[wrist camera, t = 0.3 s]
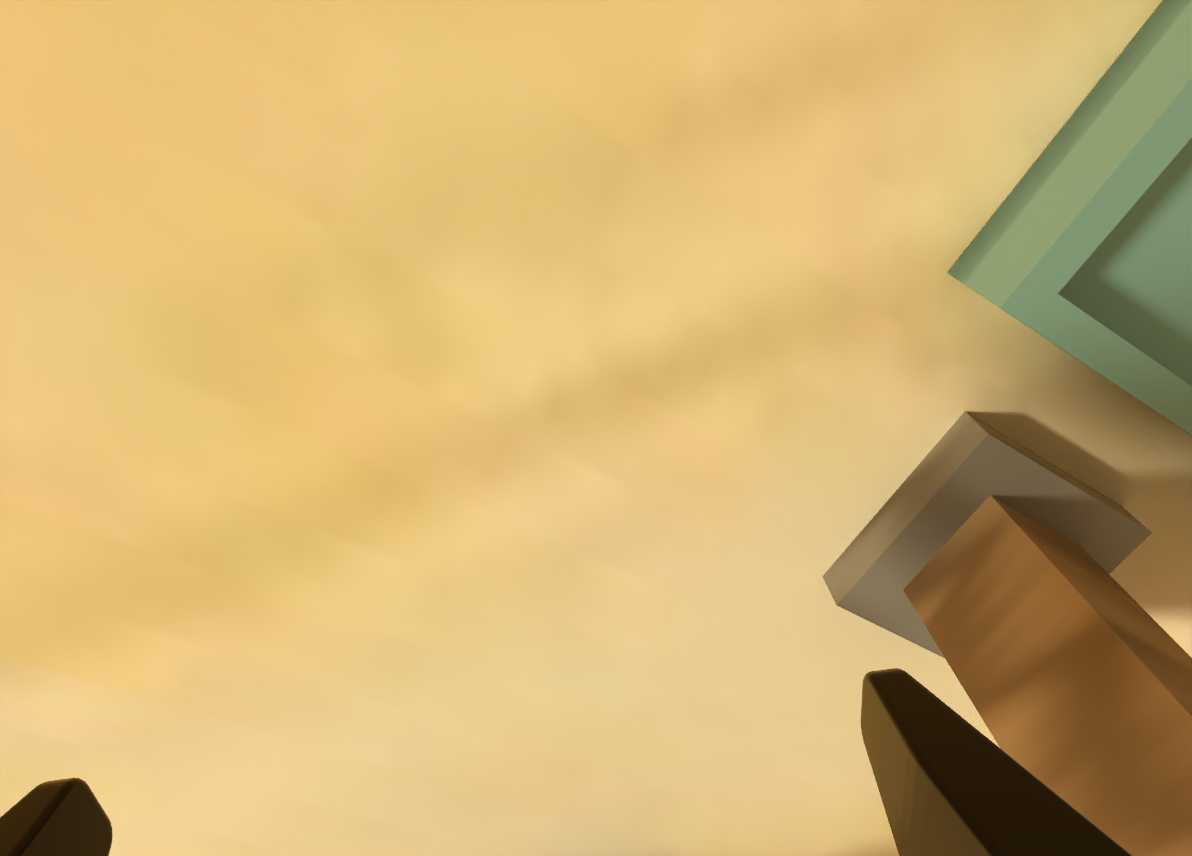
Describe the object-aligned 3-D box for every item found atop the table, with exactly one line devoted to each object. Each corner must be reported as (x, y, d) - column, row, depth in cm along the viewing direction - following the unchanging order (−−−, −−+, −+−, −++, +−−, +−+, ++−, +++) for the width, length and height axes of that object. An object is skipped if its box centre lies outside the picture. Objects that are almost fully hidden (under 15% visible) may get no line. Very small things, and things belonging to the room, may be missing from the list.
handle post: (975, 652, 30) (1250, 1064, 18) (822, 576, 28) (1022, 983, 16) (1121, 506, 27) (1547, 877, 16) (964, 411, 25) (1319, 755, 14)
